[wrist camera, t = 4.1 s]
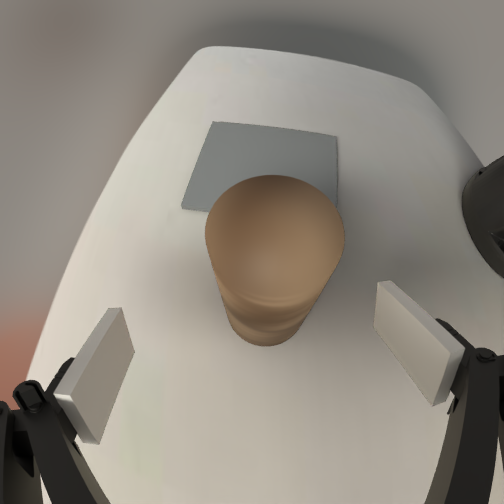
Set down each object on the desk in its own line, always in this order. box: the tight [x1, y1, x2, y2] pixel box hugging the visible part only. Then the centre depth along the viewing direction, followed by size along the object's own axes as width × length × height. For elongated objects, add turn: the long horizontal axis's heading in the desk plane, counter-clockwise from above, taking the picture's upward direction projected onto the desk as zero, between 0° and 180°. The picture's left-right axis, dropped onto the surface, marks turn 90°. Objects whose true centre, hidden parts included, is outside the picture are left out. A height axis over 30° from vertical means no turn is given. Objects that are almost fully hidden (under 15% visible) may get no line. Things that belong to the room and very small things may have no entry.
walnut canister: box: [205, 175, 345, 346], centre depth 18 cm, size 6×6×12 cm
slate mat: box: [181, 122, 337, 212], centre depth 30 cm, size 14×12×1 cm
